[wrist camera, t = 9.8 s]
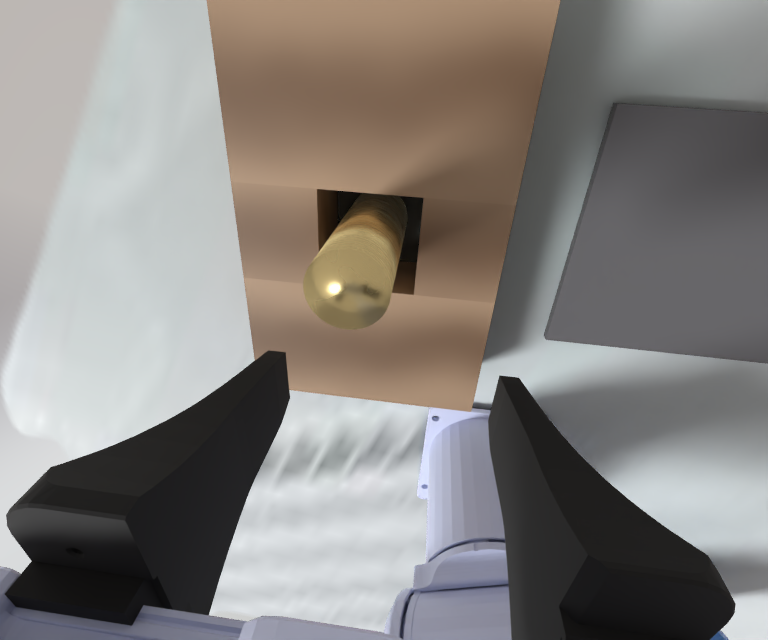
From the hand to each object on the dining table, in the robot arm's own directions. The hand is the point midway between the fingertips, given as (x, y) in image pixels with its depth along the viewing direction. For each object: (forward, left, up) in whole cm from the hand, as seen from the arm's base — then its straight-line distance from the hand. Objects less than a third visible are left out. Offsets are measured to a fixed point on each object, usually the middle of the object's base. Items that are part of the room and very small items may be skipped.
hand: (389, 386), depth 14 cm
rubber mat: (+3, -14, -10) cm, 18 cm away
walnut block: (+3, +2, -10) cm, 11 cm away
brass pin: (+3, +2, -10) cm, 11 cm away
